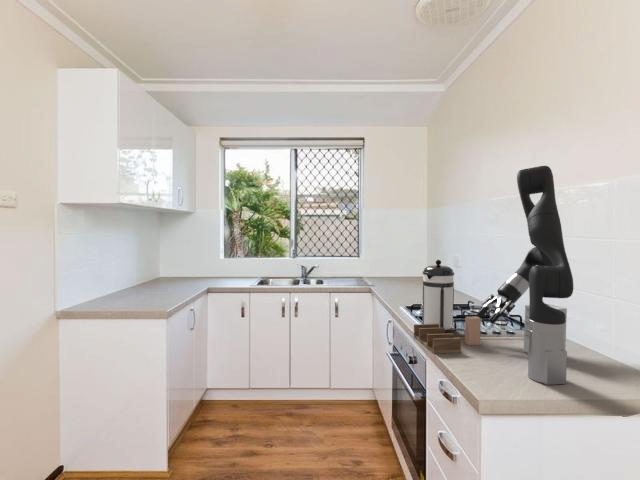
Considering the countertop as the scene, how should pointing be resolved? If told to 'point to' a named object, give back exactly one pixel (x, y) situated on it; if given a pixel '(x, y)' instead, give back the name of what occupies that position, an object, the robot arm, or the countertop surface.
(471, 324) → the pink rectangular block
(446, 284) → the coffee press
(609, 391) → the countertop surface
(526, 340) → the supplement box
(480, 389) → the countertop surface
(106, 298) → the countertop surface
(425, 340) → the drying rack
